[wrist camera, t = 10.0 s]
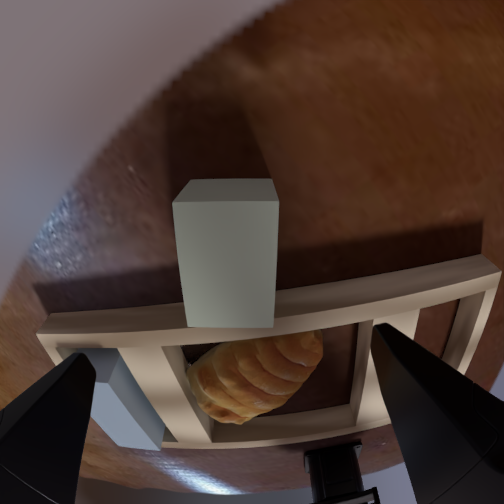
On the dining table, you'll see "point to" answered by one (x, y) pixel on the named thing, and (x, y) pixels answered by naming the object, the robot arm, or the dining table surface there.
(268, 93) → the dining table surface
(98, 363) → the wing block
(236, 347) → the pastry
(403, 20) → the dining table surface
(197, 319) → the block
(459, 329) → the frame
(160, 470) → the dining table surface
